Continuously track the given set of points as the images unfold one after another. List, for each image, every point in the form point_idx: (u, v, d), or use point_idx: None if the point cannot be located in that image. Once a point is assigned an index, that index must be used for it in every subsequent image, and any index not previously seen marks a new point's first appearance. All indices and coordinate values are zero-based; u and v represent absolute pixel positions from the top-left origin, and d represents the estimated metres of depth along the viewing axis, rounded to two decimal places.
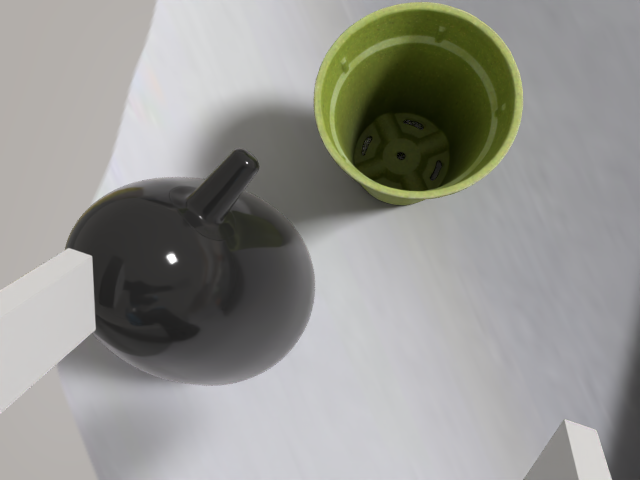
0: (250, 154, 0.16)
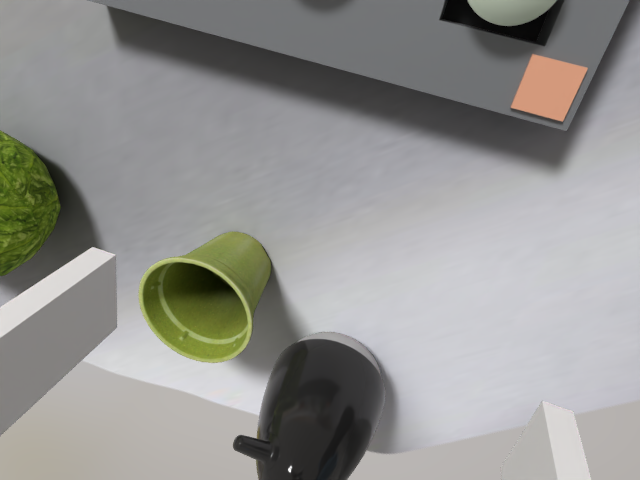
0: (235, 441, 0.32)
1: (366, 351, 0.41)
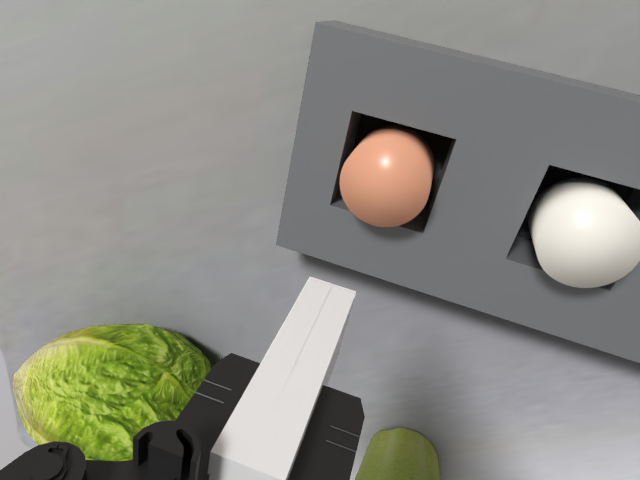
0: None
1: None
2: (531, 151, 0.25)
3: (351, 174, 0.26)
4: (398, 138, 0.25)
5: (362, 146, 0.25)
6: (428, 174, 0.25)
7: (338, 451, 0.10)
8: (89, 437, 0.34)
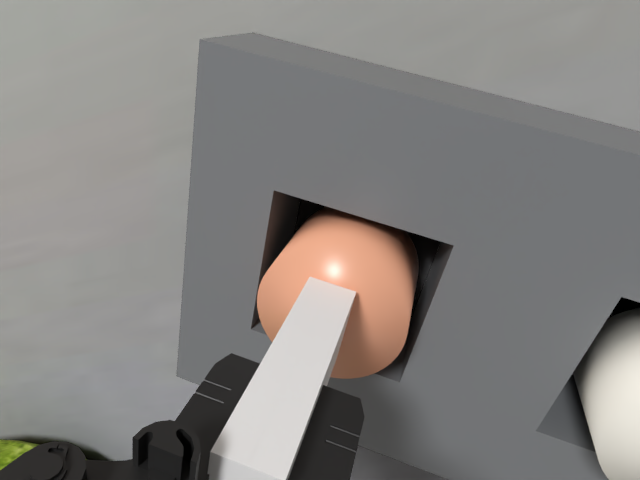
0: None
1: None
2: (589, 273, 0.14)
3: (276, 297, 0.15)
4: (353, 239, 0.15)
5: (290, 254, 0.14)
6: (404, 305, 0.14)
7: (338, 451, 0.10)
8: None
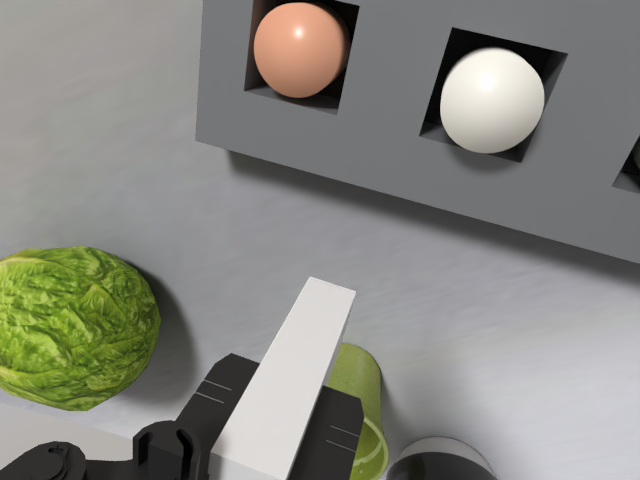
0: None
1: (482, 459, 0.40)
2: (433, 13, 0.24)
3: (264, 43, 0.27)
4: (307, 3, 0.26)
5: (271, 11, 0.26)
6: (335, 36, 0.26)
7: (338, 451, 0.10)
8: (16, 349, 0.34)
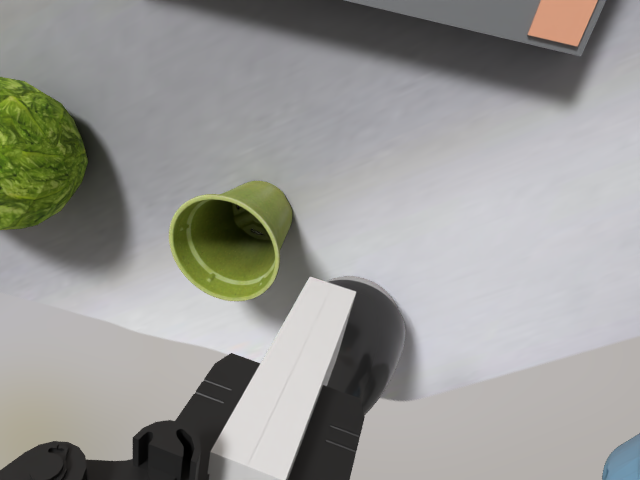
0: None
1: (385, 292, 0.42)
2: None
3: None
4: None
5: None
6: None
7: (338, 451, 0.10)
8: None
